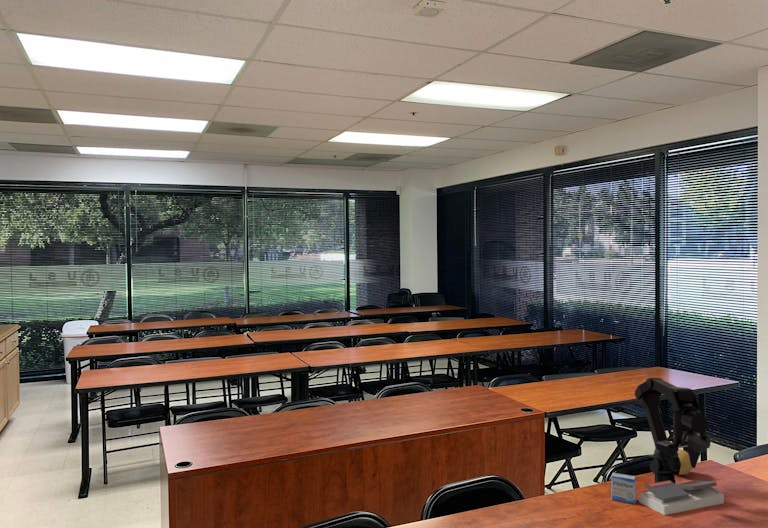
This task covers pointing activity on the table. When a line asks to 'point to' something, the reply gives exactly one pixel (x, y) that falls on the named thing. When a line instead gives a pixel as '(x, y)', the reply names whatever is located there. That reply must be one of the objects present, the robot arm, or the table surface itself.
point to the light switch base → (683, 501)
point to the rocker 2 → (696, 485)
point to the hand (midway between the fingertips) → (683, 469)
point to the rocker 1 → (666, 491)
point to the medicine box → (623, 488)
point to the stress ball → (684, 462)
